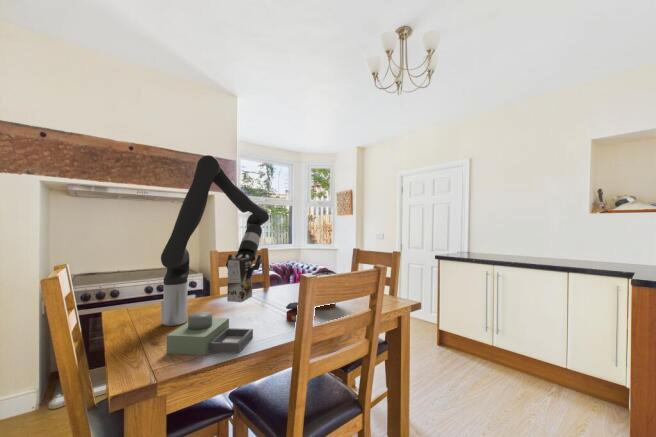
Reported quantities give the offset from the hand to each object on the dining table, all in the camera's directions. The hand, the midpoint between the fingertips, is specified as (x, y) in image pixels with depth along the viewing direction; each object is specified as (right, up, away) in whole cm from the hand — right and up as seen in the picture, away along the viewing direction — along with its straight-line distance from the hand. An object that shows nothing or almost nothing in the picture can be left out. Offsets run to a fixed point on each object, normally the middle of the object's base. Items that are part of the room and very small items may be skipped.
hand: (238, 277), depth 112 cm
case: (+33, -23, +35) cm, 53 cm away
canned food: (+21, -23, +18) cm, 36 cm away
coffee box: (0, -9, +2) cm, 9 cm away
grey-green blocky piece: (-6, -22, -9) cm, 24 cm away
